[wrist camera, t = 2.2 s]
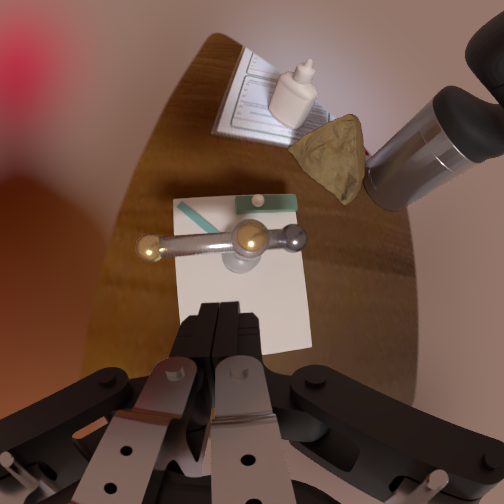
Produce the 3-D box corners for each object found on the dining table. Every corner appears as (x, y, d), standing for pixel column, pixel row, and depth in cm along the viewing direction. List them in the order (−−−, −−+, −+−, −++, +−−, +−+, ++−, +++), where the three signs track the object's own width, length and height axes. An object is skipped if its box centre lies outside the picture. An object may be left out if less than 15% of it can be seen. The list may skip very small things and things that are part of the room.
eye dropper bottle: (278, 133, 37) (303, 75, 26) (265, 105, 38) (284, 47, 27) (304, 129, 38) (335, 76, 27) (291, 102, 39) (315, 48, 28)
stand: (286, 201, 35) (298, 185, 31) (304, 344, 32) (320, 349, 27) (175, 206, 33) (171, 190, 28) (186, 358, 30) (183, 367, 25)
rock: (379, 200, 35) (362, 134, 36) (379, 188, 28) (356, 109, 28) (307, 214, 40) (295, 151, 41) (288, 207, 32) (274, 132, 33)
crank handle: (290, 232, 29) (310, 214, 24) (294, 262, 29) (316, 250, 23) (145, 242, 27) (130, 224, 21) (146, 273, 26) (131, 264, 20)
